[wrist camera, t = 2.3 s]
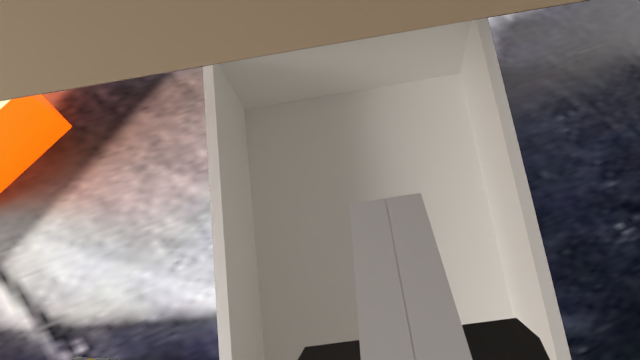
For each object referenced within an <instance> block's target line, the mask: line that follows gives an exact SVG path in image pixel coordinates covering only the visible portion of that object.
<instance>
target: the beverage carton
mask: <svg viewBox="0 0 640 360" xmlns="http://www.w3.org/2000/svg"><path fill="white" fill-rule="evenodd" d="M72 360H118V359H111V358H107V357H100V358H86V357H80V356H78V357H75V358H73V359H72Z"/></svg>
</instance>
